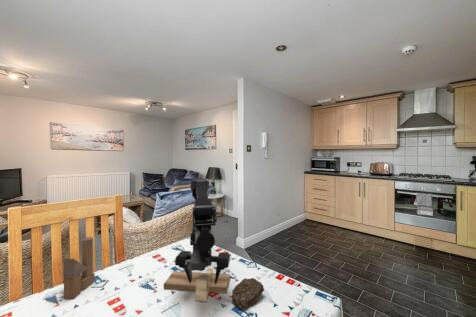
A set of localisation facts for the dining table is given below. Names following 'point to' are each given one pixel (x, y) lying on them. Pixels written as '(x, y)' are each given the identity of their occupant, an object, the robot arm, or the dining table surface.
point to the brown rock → (246, 293)
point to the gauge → (203, 285)
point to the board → (182, 283)
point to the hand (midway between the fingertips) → (203, 283)
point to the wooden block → (79, 271)
